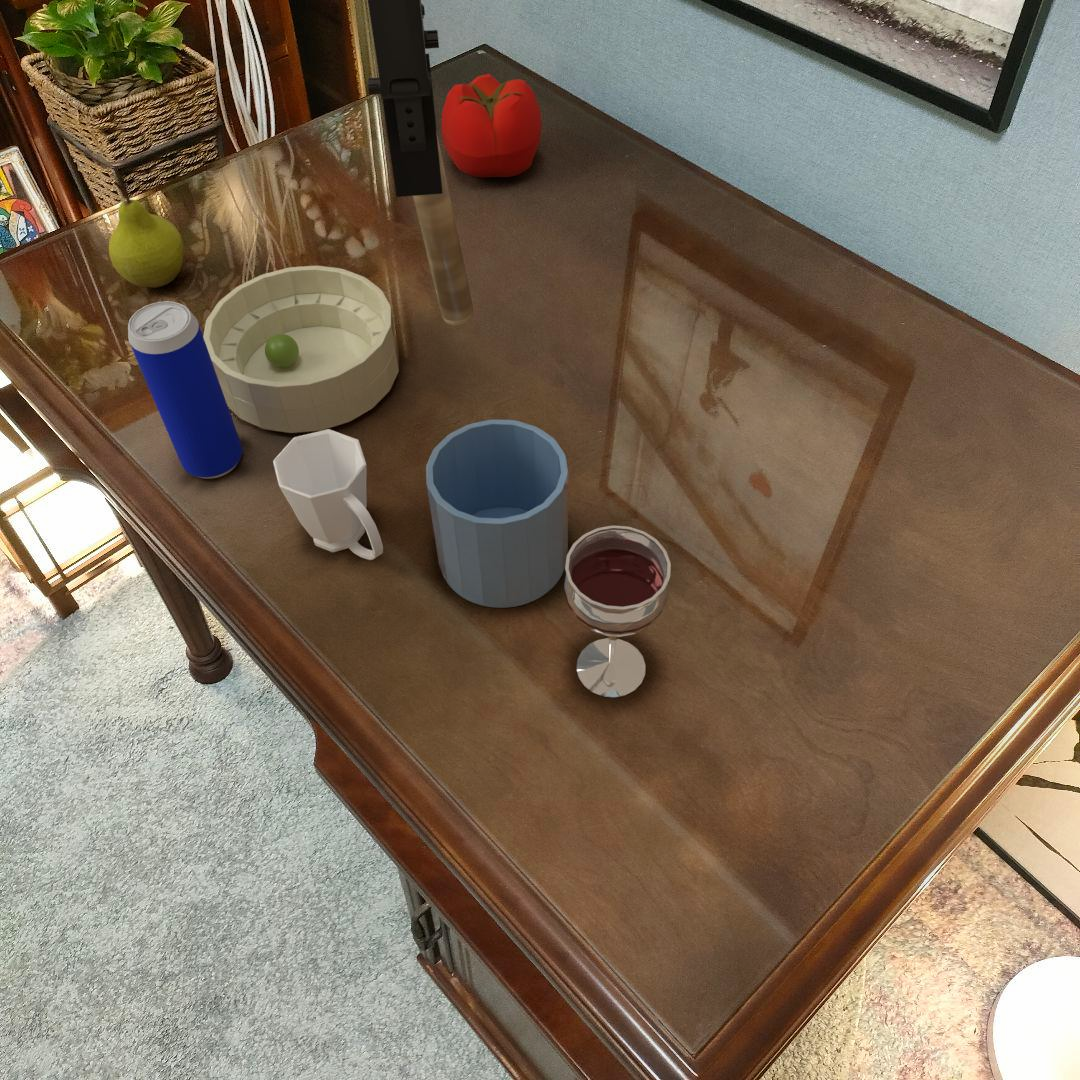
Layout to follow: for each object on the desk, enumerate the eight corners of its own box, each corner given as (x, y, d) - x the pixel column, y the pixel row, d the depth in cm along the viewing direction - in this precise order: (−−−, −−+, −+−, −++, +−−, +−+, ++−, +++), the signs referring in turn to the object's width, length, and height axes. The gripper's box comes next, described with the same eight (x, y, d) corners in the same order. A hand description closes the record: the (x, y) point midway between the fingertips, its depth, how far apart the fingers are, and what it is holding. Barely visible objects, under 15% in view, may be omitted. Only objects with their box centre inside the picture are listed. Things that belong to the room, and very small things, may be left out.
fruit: (135, 258, 105) (93, 151, 96) (200, 259, 105) (165, 151, 96) (115, 301, 101) (69, 192, 92) (183, 301, 101) (144, 193, 91)
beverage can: (221, 429, 89) (170, 289, 78) (256, 459, 87) (208, 319, 75) (171, 460, 87) (110, 321, 75) (205, 492, 85) (148, 353, 73)
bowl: (212, 444, 88) (193, 393, 84) (230, 324, 98) (213, 272, 94) (400, 429, 89) (391, 378, 84) (398, 311, 99) (390, 259, 94)
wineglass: (674, 690, 72) (690, 591, 63) (585, 721, 71) (588, 624, 61) (635, 616, 76) (645, 512, 67) (550, 644, 75) (548, 542, 65)
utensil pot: (441, 614, 77) (428, 530, 69) (437, 512, 83) (424, 424, 75) (573, 602, 77) (575, 517, 69) (559, 501, 83) (559, 413, 76)
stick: (445, 336, 69) (375, 45, 53) (442, 316, 70) (373, 26, 55) (477, 330, 69) (416, 37, 53) (473, 309, 70) (413, 18, 55)
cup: (348, 484, 85) (331, 414, 79) (421, 554, 80) (409, 486, 74) (277, 528, 82) (253, 459, 76) (348, 603, 77) (329, 536, 71)
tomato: (551, 141, 118) (550, 64, 111) (526, 199, 111) (524, 120, 104) (462, 131, 120) (456, 55, 113) (432, 188, 112) (423, 110, 105)
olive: (303, 361, 95) (272, 352, 95) (304, 333, 93) (273, 324, 93) (290, 377, 92) (259, 368, 92) (291, 349, 90) (259, 340, 91)
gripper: (457, -289, 38) (491, 249, 56) (438, -376, 47) (472, 108, 66) (253, -279, 37) (354, 260, 56) (275, -369, 47) (355, 117, 65)
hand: (418, 177), depth 61 cm, fingers closed on stick, 2 cm apart
